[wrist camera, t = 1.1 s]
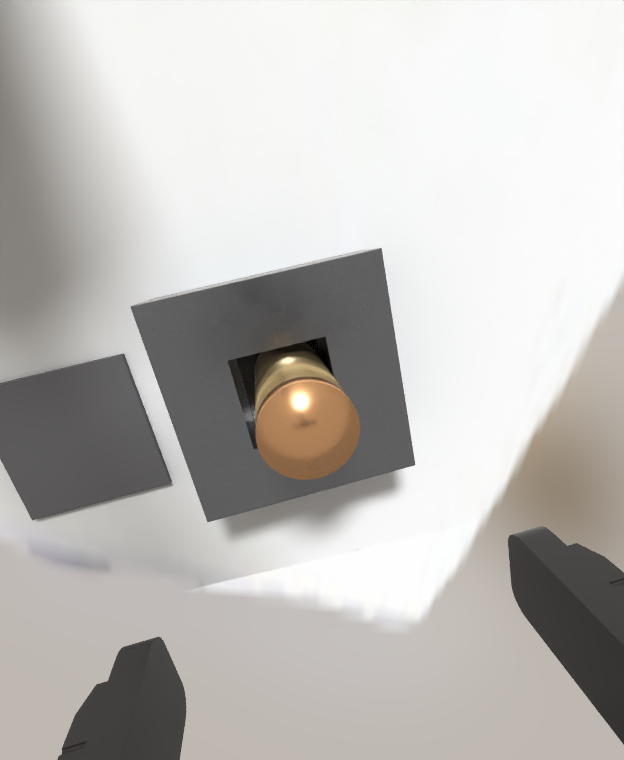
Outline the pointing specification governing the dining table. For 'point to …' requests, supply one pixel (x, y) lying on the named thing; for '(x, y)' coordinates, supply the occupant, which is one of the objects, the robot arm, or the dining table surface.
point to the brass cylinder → (302, 414)
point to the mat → (77, 437)
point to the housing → (267, 332)
